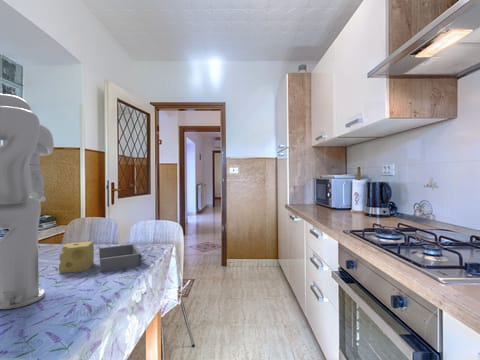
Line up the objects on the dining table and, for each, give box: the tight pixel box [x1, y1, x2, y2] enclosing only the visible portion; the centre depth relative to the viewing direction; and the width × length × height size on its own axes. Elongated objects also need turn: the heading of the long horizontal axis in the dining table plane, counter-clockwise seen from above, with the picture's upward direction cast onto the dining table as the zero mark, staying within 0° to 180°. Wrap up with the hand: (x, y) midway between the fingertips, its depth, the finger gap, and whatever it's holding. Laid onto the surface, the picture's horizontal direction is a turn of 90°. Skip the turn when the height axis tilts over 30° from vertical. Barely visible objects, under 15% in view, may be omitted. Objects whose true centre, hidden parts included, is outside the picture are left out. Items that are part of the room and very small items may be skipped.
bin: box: [98, 243, 142, 273], centre depth 119 cm, size 20×15×5 cm
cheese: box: [58, 241, 95, 274], centre depth 112 cm, size 10×11×10 cm
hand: (28, 217), depth 104 cm, fingers closed
